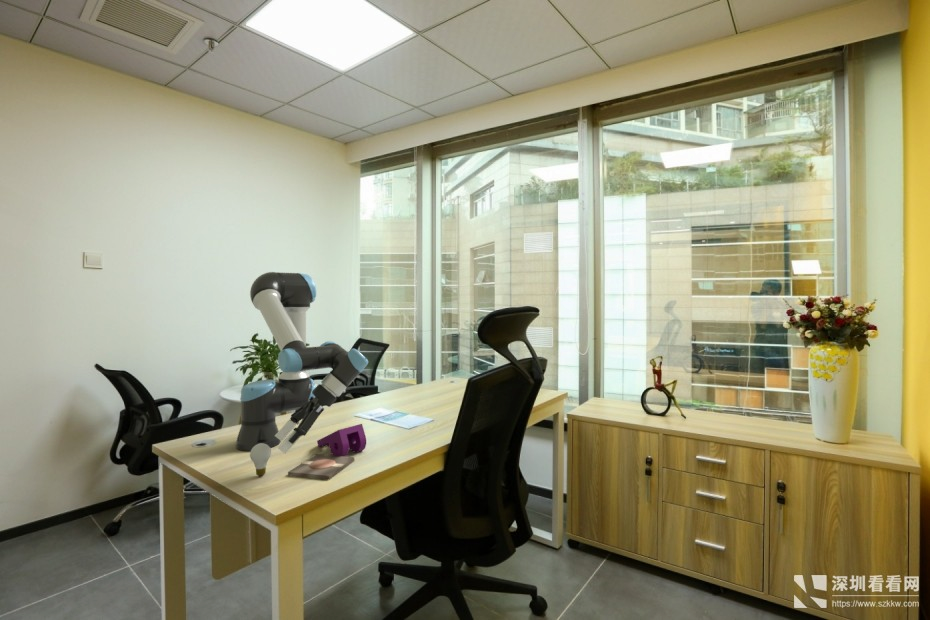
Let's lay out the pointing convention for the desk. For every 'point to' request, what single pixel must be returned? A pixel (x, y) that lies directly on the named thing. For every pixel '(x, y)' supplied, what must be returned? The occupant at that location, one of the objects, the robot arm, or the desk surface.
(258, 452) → the light bulb
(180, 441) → the desk surface
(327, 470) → the board
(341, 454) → the mounting bracket
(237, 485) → the desk surface
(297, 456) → the desk surface
